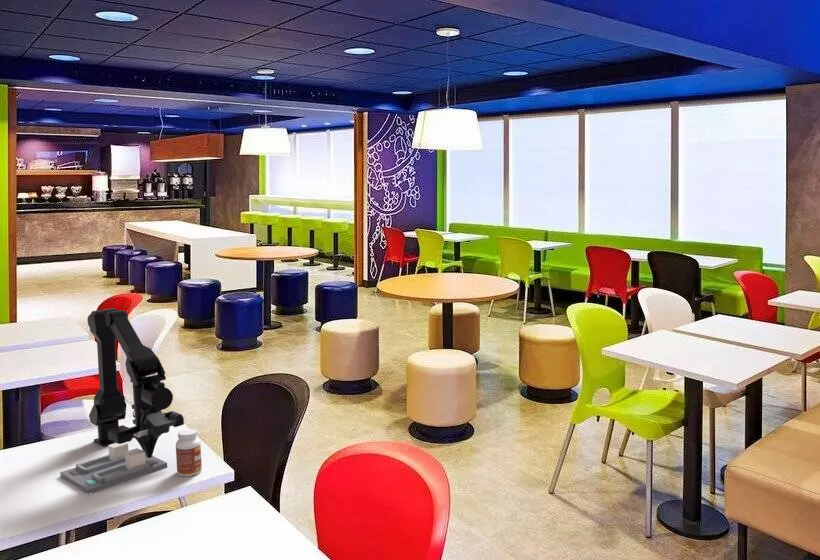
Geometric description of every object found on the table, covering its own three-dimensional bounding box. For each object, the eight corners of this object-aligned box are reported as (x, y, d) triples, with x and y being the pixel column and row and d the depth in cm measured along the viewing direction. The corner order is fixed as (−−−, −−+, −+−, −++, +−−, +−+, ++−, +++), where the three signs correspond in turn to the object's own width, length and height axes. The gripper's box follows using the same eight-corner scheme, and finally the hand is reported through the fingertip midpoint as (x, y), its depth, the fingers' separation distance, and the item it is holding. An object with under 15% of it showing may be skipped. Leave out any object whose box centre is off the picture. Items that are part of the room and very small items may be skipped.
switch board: (60, 476, 179) (59, 468, 179) (137, 452, 195) (136, 444, 194) (88, 494, 169) (88, 485, 168) (167, 467, 184) (166, 459, 184)
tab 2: (125, 468, 181) (124, 453, 180) (140, 463, 184) (139, 448, 183) (131, 471, 179) (130, 456, 178) (146, 466, 182) (145, 451, 181)
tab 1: (109, 459, 187) (108, 445, 186) (123, 454, 190) (122, 440, 189) (114, 462, 185) (113, 447, 184) (129, 457, 188) (128, 443, 187)
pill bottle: (199, 476, 178) (197, 435, 177) (175, 478, 178) (172, 436, 176) (203, 466, 184) (201, 426, 183) (179, 468, 184) (177, 428, 182)
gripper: (126, 417, 169) (131, 477, 172) (193, 398, 184) (197, 454, 186) (105, 407, 177) (109, 465, 179) (171, 390, 191) (174, 444, 193)
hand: (149, 457), depth 184 cm, fingers closed
